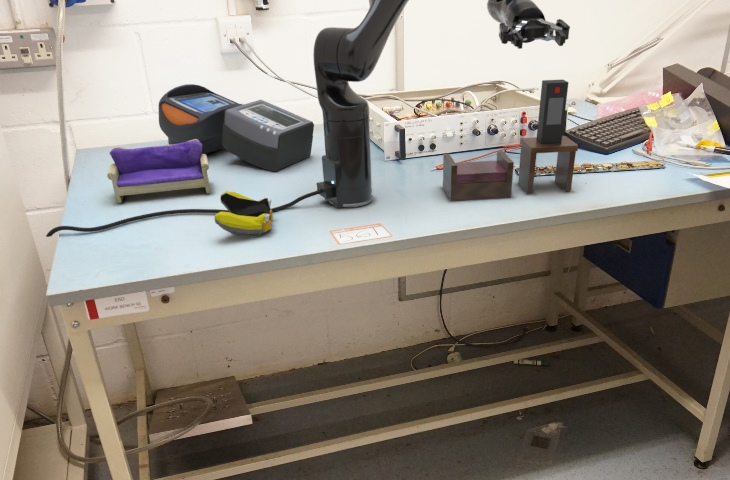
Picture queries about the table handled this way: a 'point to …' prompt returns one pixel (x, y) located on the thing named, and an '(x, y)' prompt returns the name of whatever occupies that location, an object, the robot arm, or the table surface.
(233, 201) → the yellow bananas
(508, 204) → the table surface
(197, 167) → the toy sofa
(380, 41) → the robot arm
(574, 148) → the walnut shelf
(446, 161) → the cushioned bench
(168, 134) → the diagnostic device
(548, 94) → the slim remote
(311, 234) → the table surface
